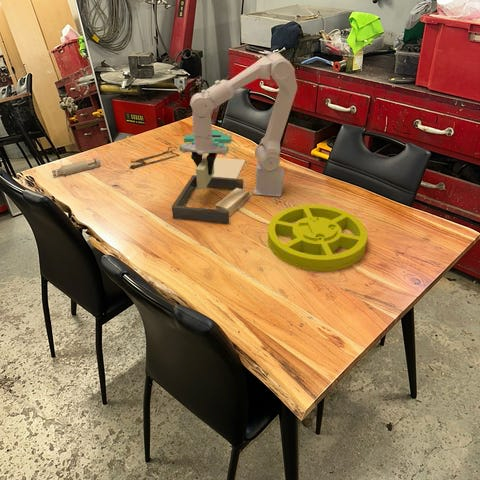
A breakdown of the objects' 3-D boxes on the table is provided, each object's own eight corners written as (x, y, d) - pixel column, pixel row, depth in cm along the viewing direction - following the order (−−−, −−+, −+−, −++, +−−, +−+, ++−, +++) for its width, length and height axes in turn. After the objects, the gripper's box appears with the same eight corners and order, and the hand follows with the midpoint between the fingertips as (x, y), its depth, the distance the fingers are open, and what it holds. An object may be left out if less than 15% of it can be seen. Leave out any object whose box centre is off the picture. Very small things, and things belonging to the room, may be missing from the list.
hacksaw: (131, 170, 166) (130, 167, 165) (120, 161, 173) (120, 158, 172) (186, 154, 177) (186, 151, 176) (174, 146, 184) (174, 143, 183)
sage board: (214, 172, 148) (213, 153, 144) (204, 189, 139) (203, 169, 135) (207, 172, 149) (206, 153, 144) (197, 189, 139) (195, 169, 135)
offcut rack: (243, 189, 151) (243, 179, 149) (228, 224, 133) (227, 212, 131) (193, 185, 155) (192, 174, 152) (172, 218, 137) (171, 207, 135)
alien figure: (227, 153, 178) (233, 134, 194) (227, 147, 176) (233, 129, 193) (180, 151, 180) (189, 133, 196) (179, 146, 178) (188, 129, 195)
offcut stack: (251, 197, 147) (251, 188, 145) (227, 220, 136) (227, 210, 134) (237, 194, 150) (236, 184, 148) (212, 215, 138) (211, 206, 136)
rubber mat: (245, 160, 170) (245, 159, 170) (234, 184, 154) (234, 183, 154) (206, 157, 173) (206, 156, 173) (191, 181, 157) (191, 179, 157)
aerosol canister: (98, 163, 171) (95, 148, 168) (102, 167, 168) (99, 152, 164) (52, 175, 163) (47, 159, 160) (55, 180, 160) (50, 164, 156)
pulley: (363, 220, 134) (366, 206, 131) (366, 277, 112) (369, 262, 109) (274, 212, 139) (275, 198, 136) (260, 265, 117) (260, 250, 114)
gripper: (176, 137, 133) (181, 177, 140) (222, 140, 130) (224, 180, 138) (183, 129, 138) (187, 167, 146) (227, 131, 136) (229, 170, 143)
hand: (205, 173), depth 142 cm, fingers closed on sage board, 2 cm apart
